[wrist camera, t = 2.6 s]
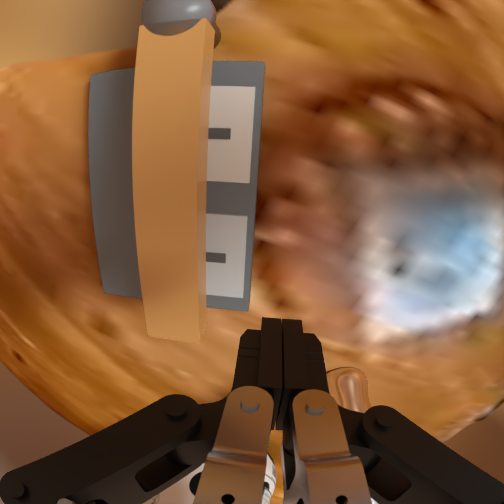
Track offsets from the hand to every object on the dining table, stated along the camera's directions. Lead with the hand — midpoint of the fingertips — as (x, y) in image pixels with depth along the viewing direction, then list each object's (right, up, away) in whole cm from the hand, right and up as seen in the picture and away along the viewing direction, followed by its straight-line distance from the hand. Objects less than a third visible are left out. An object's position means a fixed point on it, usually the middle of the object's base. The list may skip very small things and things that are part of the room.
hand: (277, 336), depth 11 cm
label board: (-8, +9, +12) cm, 17 cm away
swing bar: (-6, +9, +7) cm, 13 cm away
